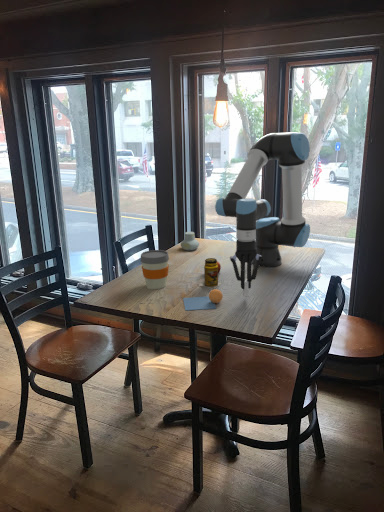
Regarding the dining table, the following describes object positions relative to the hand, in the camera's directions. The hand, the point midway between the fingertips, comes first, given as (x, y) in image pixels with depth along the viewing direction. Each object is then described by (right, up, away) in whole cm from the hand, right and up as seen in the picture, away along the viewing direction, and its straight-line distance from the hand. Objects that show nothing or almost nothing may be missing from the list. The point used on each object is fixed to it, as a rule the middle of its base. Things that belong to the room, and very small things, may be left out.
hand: (245, 295), depth 162 cm
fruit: (-12, +7, +31) cm, 34 cm away
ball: (-12, 0, -1) cm, 12 cm away
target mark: (-19, -3, -1) cm, 19 cm away
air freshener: (-23, +20, +75) cm, 81 cm away
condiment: (-14, +3, +19) cm, 23 cm away
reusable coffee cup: (-38, +3, +20) cm, 43 cm away
